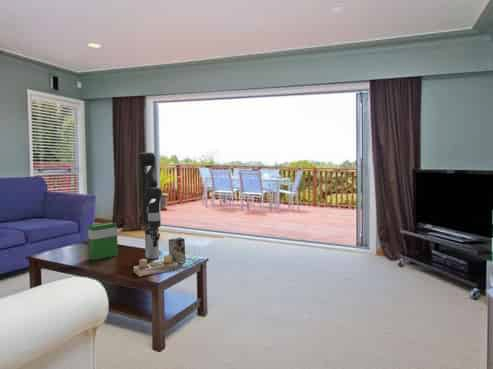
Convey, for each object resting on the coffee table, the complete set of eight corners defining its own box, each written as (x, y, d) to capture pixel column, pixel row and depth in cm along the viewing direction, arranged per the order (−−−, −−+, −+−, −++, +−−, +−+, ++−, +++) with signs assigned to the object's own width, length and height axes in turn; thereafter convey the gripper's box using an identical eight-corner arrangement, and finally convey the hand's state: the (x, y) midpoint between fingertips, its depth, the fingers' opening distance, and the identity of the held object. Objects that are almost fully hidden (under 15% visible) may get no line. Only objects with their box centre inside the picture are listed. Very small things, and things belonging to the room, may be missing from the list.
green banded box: (113, 253, 276) (111, 221, 274) (117, 255, 271) (116, 223, 269) (89, 258, 263) (87, 225, 261) (94, 260, 258) (92, 226, 256)
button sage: (151, 269, 234) (150, 261, 234) (158, 267, 237) (157, 260, 237) (153, 270, 231) (153, 263, 230) (160, 269, 233) (160, 261, 233)
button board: (133, 271, 231) (133, 266, 231) (171, 264, 245) (171, 259, 245) (139, 276, 222) (139, 270, 222) (178, 268, 236) (177, 263, 236)
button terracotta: (138, 267, 230) (138, 259, 229) (145, 266, 232) (145, 258, 232) (140, 269, 226) (140, 261, 226) (148, 268, 229) (148, 260, 228)
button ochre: (163, 263, 239) (162, 255, 238) (169, 262, 241) (169, 254, 241) (165, 264, 235) (165, 257, 235) (172, 263, 237) (172, 256, 237)
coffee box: (181, 260, 256) (180, 237, 255) (185, 262, 251) (185, 238, 249) (169, 262, 250) (168, 239, 249) (173, 264, 245) (172, 240, 244)
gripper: (144, 218, 235) (145, 245, 236) (152, 221, 224) (153, 249, 225) (156, 217, 239) (157, 243, 240) (163, 220, 228) (164, 247, 230)
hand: (155, 246), depth 233 cm, fingers closed
